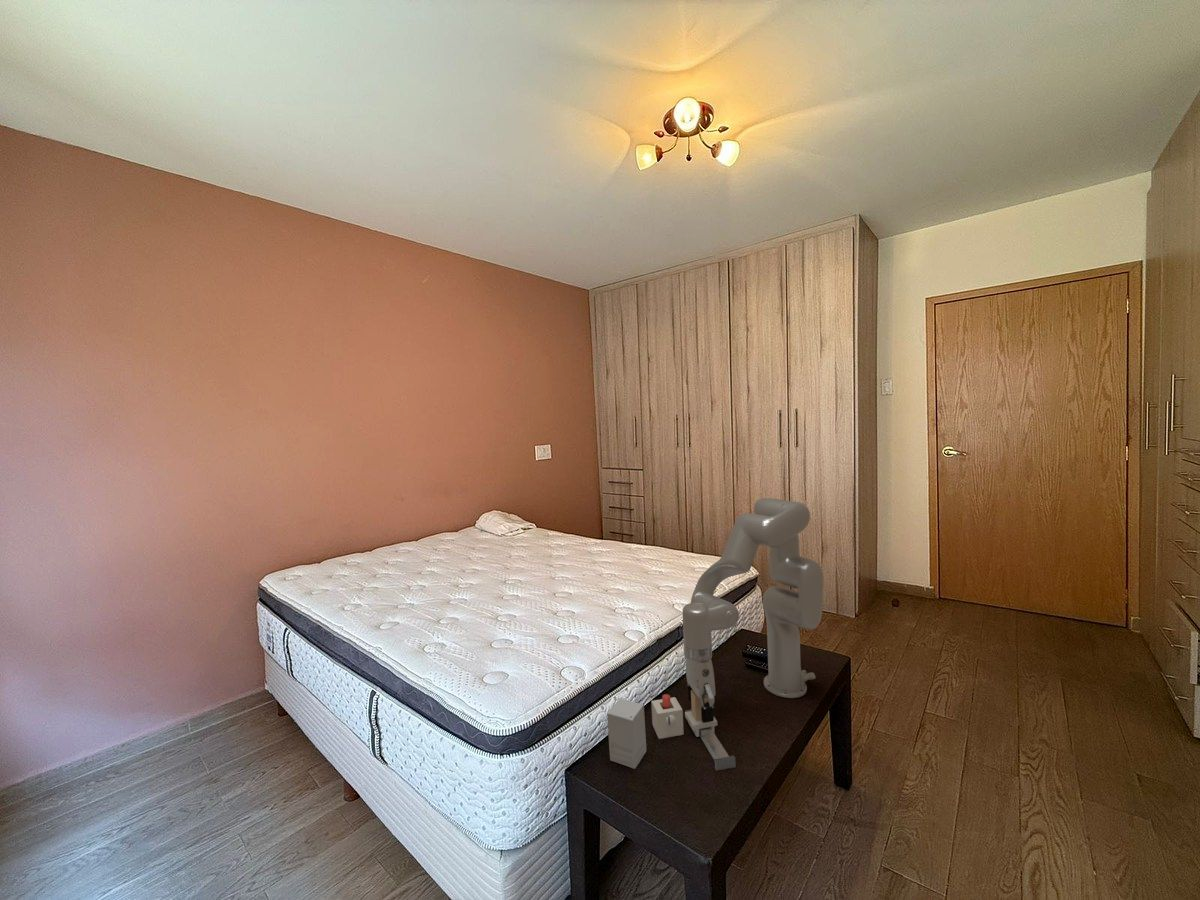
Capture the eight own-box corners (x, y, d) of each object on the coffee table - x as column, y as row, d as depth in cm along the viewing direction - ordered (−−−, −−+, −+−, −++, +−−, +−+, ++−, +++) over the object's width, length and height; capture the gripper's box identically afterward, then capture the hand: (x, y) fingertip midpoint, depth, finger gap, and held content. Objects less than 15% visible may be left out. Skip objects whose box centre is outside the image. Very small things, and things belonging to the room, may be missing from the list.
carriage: (708, 719, 130) (707, 684, 130) (717, 733, 124) (716, 696, 124) (685, 723, 129) (683, 688, 128) (693, 737, 123) (691, 700, 122)
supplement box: (647, 751, 119) (645, 704, 118) (634, 770, 113) (632, 720, 112) (622, 742, 123) (619, 696, 122) (608, 760, 116) (606, 712, 116)
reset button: (669, 710, 128) (668, 693, 128) (672, 715, 126) (671, 698, 126) (662, 712, 128) (661, 694, 127) (664, 717, 125) (663, 699, 125)
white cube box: (676, 720, 131) (675, 697, 130) (684, 736, 124) (683, 711, 124) (652, 724, 129) (651, 700, 129) (659, 740, 123) (658, 715, 122)
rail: (702, 715, 132) (701, 707, 132) (735, 767, 112) (735, 757, 112) (685, 718, 131) (685, 710, 131) (716, 770, 111) (716, 761, 111)
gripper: (724, 663, 118) (727, 728, 118) (698, 634, 135) (700, 690, 135) (697, 668, 116) (699, 733, 117) (674, 637, 133) (676, 694, 134)
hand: (700, 710), depth 126 cm, fingers open, 9 cm apart
